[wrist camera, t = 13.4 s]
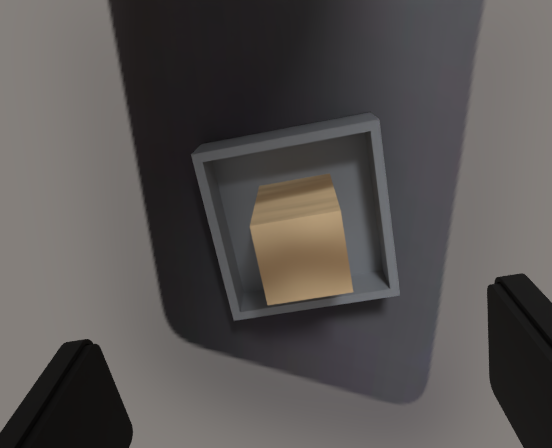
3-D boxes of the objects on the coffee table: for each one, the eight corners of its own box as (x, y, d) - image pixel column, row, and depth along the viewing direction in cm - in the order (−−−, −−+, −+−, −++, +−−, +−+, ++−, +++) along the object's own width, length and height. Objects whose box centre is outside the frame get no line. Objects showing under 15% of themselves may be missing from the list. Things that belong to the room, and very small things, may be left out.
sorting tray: (200, 144, 33) (190, 154, 30) (370, 111, 32) (379, 119, 29) (238, 296, 37) (233, 320, 34) (390, 272, 36) (399, 295, 33)
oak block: (259, 186, 33) (249, 226, 26) (329, 173, 33) (340, 210, 25) (272, 250, 35) (267, 305, 28) (340, 239, 35) (353, 292, 27)
